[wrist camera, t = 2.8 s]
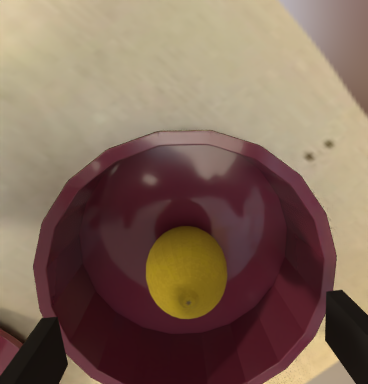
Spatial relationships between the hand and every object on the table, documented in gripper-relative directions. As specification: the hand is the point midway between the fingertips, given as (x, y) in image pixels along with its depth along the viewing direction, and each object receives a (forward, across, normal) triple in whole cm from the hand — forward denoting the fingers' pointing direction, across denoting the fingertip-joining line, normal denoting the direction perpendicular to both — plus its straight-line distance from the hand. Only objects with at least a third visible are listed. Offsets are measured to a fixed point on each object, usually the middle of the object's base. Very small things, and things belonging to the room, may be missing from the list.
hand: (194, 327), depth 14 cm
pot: (+10, 0, 0) cm, 10 cm away
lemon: (+10, 0, 0) cm, 10 cm away
